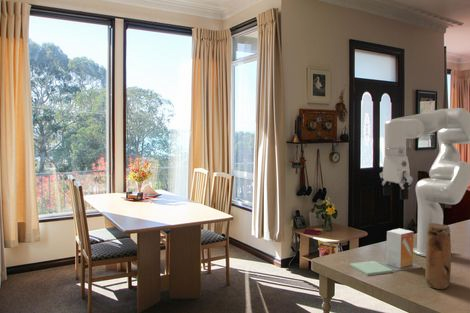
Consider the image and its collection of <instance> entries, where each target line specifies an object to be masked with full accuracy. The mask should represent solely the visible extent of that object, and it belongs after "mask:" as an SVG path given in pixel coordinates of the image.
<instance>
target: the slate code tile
mask: <svg viewBox="0 0 470 313" xmlns="http://www.w3.org/2000/svg"><path fill="white" fill-rule="evenodd" d="M378 263H380V264H382V265H384V266H386V267H388V268H390V269H392V270H393V272H399V271H407V270H415V269H422V268H423V267H422V266H420V265H418V264H416V263H413V265H409V266H406V267H403V268H398V267H394V266H391V265H388V264H386V260H385V261H378Z"/></svg>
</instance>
